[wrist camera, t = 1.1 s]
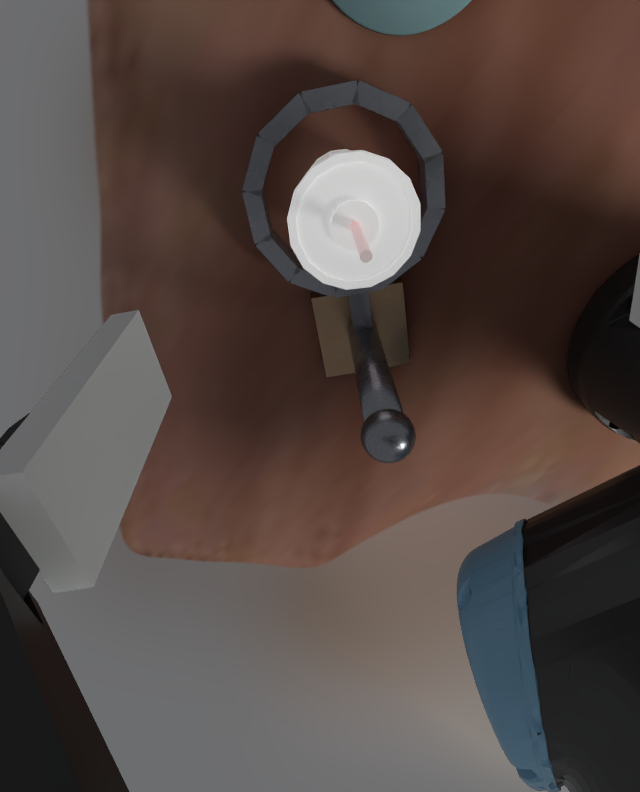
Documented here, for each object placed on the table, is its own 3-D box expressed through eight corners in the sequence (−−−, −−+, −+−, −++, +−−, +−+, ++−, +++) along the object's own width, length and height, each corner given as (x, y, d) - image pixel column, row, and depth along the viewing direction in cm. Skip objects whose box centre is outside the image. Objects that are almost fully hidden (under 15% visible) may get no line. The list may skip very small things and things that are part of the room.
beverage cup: (308, 254, 33) (312, 350, 21) (276, 154, 30) (258, 199, 18) (401, 224, 32) (461, 306, 20) (378, 118, 29) (432, 140, 17)
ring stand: (442, 351, 37) (512, 483, 24) (292, 376, 37) (287, 517, 25) (426, 65, 28) (524, 47, 15) (228, 106, 28) (172, 120, 16)
